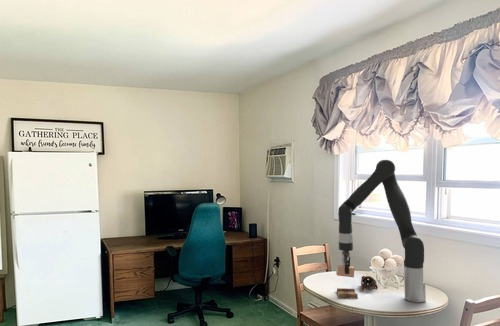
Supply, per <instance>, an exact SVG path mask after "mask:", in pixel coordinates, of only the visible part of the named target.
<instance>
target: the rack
mask: <svg viewBox="0 0 500 326" xmlns="http://www.w3.org/2000/svg"><path fill="white" fill-rule="evenodd" d="M336 294H337V297H338V299H346V300H347V299H348V300H349V299H352V300H357V299H359V297H358V293H356V289H355V288H348V287H347V288H346V287H345V288H343V287H342V288H338V287H337V288H336Z"/></svg>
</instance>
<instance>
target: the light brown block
mask: <svg viewBox="0 0 500 326" xmlns="http://www.w3.org/2000/svg"><path fill="white" fill-rule="evenodd" d="M355 270H356V269H355V266H352V265H350V267H349V274H345V266H344V265H342V264H336V271H335V272H336V273H335V274H336V276H338V277H347V278H355Z"/></svg>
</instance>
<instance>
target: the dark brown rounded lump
mask: <svg viewBox="0 0 500 326" xmlns="http://www.w3.org/2000/svg"><path fill="white" fill-rule="evenodd" d="M360 279H361V280H360V285H361V286H360V288H361V290H362V291H364V290H370V289H373V288H376V289H377V290H378V288H379V287H378V285H377V281H376V279H375V278H373V277H372V276H370V275H363V276H361V278H360Z"/></svg>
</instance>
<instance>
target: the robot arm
mask: <svg viewBox="0 0 500 326" xmlns="http://www.w3.org/2000/svg"><path fill="white" fill-rule="evenodd" d="M395 172H396V165H395V163H394V162H393V161H391V160H389V159H382V160H379V161H378V162H377V163H376V166H375V170H374V171H373V172H372V174H371V175H370V176H369V177H368V178H367V179H366V180H365V181H364V182H363V183H362V184H360V185H358V187H357V188H356V189H355V190H354V191H353V192H352V193H351V194H350V196H349V197H348V198H347V199H346V200H345V201H344V202H343V203H342V204H341V205H340V206H339V207H338V250H340V251H341V256H342V264H343V265H344V266H345V274H349V267H350V266H351V254H350V252H351V251H354V250H353V249H354V242H353V241H354V238H353V237H354V236H353V225H352V221H353V219H352V215H353V212H354V211H355V210H356V209H357V208H358V207H359V206H361V205H362V203H364V202H365V200H367V198H368V197H369V196H370V195H371V194H372V193H373V192H374V191H375V189H377V187H378V186H380V185H381V184H382V186H383V188H384V192H385V198H386V200H387V205H388V207H389V209H390V213H391V214H392V217H393V220H394V222H395V224H396V226H397V228H398V232H399V235H400V239H401V244H402V247H403V248H404V259H403V275H404V276H403V277H404V278H403V280H404V299H405V300H406V301H409V302H412V303H423V302H426V301H427V300H426V299H427V298H426V292H427V291H426V282H425V281H424V279H425V278H424V277H425V276H424V275H425V274H424V263H425V245H424V241H423V240H422V239H421V238H419V236H418V235H417V233H416V231H415V228H414V225H413V222H412V215H411V210H410V206H409V204H408V200H407V198H406V196H405V194H404V192H403V190H402V188H401V186H400V185H399V183H398V181H397V180H398V179H397V177H396V174H395Z"/></svg>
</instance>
